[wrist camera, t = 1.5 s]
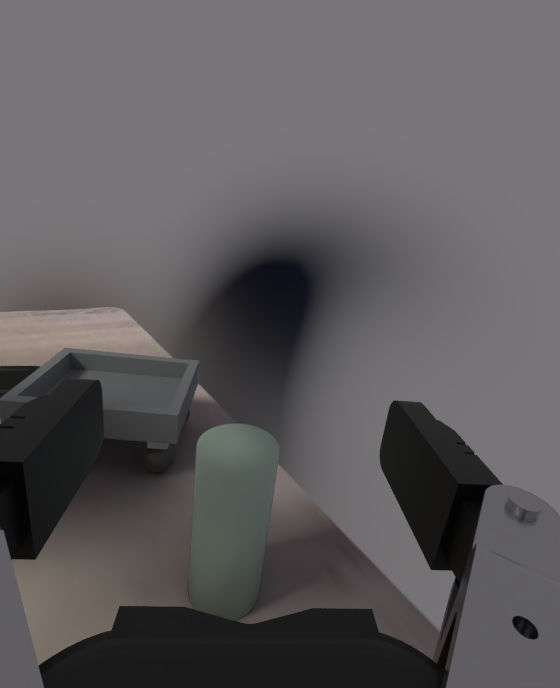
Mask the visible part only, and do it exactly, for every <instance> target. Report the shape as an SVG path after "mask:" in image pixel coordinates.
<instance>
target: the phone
mask: <svg viewBox="0 0 560 688" xmlns="http://www.w3.org/2000/svg"><path fill="white" fill-rule="evenodd" d="M39 368H40V366H0V398H1V397H2V396H4V395H5V394H6V393H8V392H9V391H10V390H11V389H13V388H14V387H15V386H17V385H18V384H19V383H20V382H22V381H23V380H24V379H26V378H27V377H28V376H30V375H31V374H32V373H33V372H35V371H36V370H37V369H39Z"/></svg>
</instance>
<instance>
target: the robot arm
mask: <svg viewBox="0 0 560 688" xmlns="http://www.w3.org/2000/svg"><path fill="white" fill-rule="evenodd" d="M103 439H104V420H103V399H102V386H101V383H100V381H99V380H92V379H77V378H67V379H66V380H64V381H63V382H62V383H61V384H60V385H59V386H58V387H57V388H56V389H55V390H54V391H53V392H52V393H51V394H50V395H42V396H40V397H38V398H36V399H33V400H31V401H29V402H27V403H25V404H23V405H22V406H21V407H20V408H19V409H17V410H16V411H15V412H14V413H13V414H12V415H11V416H10V418H7V419H6V420H5V421H4V422H3V423H1V424H0V688H560V516H559V514H558V513H557V512H556V511H555V510H554V509H553V508H552V507H551V506H550V505H549V504H548V503H546V502H545V501H543V500H542V499H540V498H539V497H537V496H535V495H534V494H532V493H530V492H527V491H525V490H523V489H520V488H517V487H513V486H508V485H503V484H502V483H501V482H500V481H499V480H498V479H497V477H496V476H495V475H494V474H493V473H492V472H491V471H490V470H489V468H488V467H487V466H486V465H485V464H484V463H483V462H482V461H481V460H480V458H479V457H478V456H477V455H474V452H473V451H472V450H471V448H470V447H469V446H468V445H465V442H464V441H463V440H462V439H461V437H460V436H459V435H458V434H457V433H456V432H455V431H454V430H453V429H451V428H450V427H448V426H447V425H445V424H443V423H442V422H441V421H439V420H436V419H435V418H434V416H433V415H432V414H431V413H430V412H429V411H428V409H427V408H426V407H425V406H424V405H423V404H422V403H421V402H409V401H393V402H392V403H391V405H390V408H389V412H388V417H387V421H386V426H385V430H384V434H383V438H382V443H381V447H380V464H381V468H382V470H383V473H384V475H385V477H386V478H387V481H388V483H389V485H390V487H391V489H392V491H393V493H394V495H395V497H396V499H397V501H398V503H399V505H400V507H401V509H402V511H403V513H404V515H405V517H406V520H407V522H408V523H409V526H410V528H411V530H412V532H413V534H414V536H415V538H416V540H417V542H418V544H419V546H420V548H421V550H422V552H423V554H424V556H425V558H426V560H427V562H428V564H429V566H430V568H431V570H452V571H453V573H454V575H455V576H456V577H455V581H454V583H453V586H452V589H451V593H450V597H449V600H448V604H447V608H446V612H445V616H444V620H443V623H442V627H441V631H440V635H439V639H438V642H437V646H436V650H435V654H434V658H433V660H432V659H430V658H429V657H427V656H426V655H424V654H423V653H421V652H420V651H418V650H417V649H415V648H413V647H412V646H410V645H408V644H406V643H404V642H402V641H400V640H398V639H396V638H393V637H391V636H388V635H386V634H383V633H379V631H378V628H377V625H376V621H375V618H374V615H373V611H372V609H322V608H313V609H309V610H305V611H301V612H297V613H294V614H290V615H286V616H282V617H279V618H275V619H271V620H267V621H263V622H260V623H256V624H244V623H240V622H237V621H233V620H230V619H226V618H222V617H219V616H215V615H212V614H208V613H205V612H201V611H197V610H194V609H190V608H187V607H148V606H120V607H119V610H118V613H117V616H116V619H115V622H114V625H113V628H112V630H111V631H107V632H103V633H100V634H97V635H95V636H92V637H89V638H87V639H84V640H82V641H80V642H78V643H76V644H74V645H71V646H69V647H67V648H65V649H64V650H62V651H60V652H59V653H57V654H55V655H54V656H52V657H50V658H49V659H47V660H46V661H44V662H43V663H42V664H40V665H39V666H38V662H37V659H36V655H35V651H34V647H33V643H32V639H31V635H30V631H29V627H28V624H27V620H26V616H25V612H24V608H23V604H22V600H21V596H20V592H19V589H18V585H17V581H16V577H15V573H14V569H13V565H12V561H11V560H12V559H33V560H35V559H36V558H37V556H38V554H39V553H40V551H41V549H42V548H43V546H44V544H45V543H46V541H47V540H48V538H49V536H50V535H51V533H52V531H53V530H54V528H55V526H56V525H57V523H58V521H59V520H60V518H61V517H62V515H63V513H64V512H65V510H66V508H67V507H68V505H69V503H70V502H71V500H72V498H73V497H74V495H75V494H76V492H77V490H78V489H79V487H80V485H81V484H82V482H83V480H84V479H85V477H86V475H87V474H88V472H89V471H90V469H91V467H92V466H93V464H94V462H95V461H96V459H97V457H98V456H99V454H100V451H101V448H102V444H103Z"/></svg>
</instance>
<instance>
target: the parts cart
mask: <svg viewBox="0 0 560 688" xmlns="http://www.w3.org/2000/svg"><path fill="white" fill-rule="evenodd" d="M198 370H199V361H196V360H185V359H175V358H164V357H154V356H144V355H133V354H123V353H112V352H102V351H91V350H81V349H70V348H65V349H63V350H62V351H61V352H59V353H58V354H57V355H55V356H54V357H53V358H52V359H50V360H49V361H48V362H46V363H45V364H44V365H42V366H41V367H40V368H39V369H37V370H36V371H35V372H33V373H32V374H31V375H30V376H28V377H27V378H26V379H24V380H23V381H22V382H20V383H19V384H18V385H17V386H15V387H14V388H13V389H11V390H10V391H9V392H8V393H6V394H5V395H4V396H2V397H1V398H0V420H1V423H3V422H4V421H5V420H6V419H7V418H10V416H11V415H12V414H13V413H14V412H15V411H16V410H17V409H19V408H20V407H21V406H22V405H23V404H25V403H27V402H29V401H31V400H33V399H36V398H38V397H40V396H42V395H50V394H51V393H52V392H53V391H54V390H55V389H56V388H57V387H58V386H59V385H60V384H61V383H62V382H63V381H64V380H66V379H67V378H77V379H92V380H99V381H100V383H101V386H102V399H103V420H104V438H105V439H118V440H131V441H143V442H147V447H146V449H145V451H144V454H143V461H144V464H145V466H146V467H147V468H148V469H149V470H151V471H153V472H163V471H166V470H167V469H169V468H170V467H171V466H172V464H173V463H174V460H175V450H174V448H173V446H172V445H171V444H177V442H178V440H179V437H180V434H181V431H182V428H183V425H184V423H185V422H186V421H187V420H188V418H189V415H190V410H189V408H190V405H191V402H192V399H193V396H194V393H195V390H196V388H197V385H198Z"/></svg>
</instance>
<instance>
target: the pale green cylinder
mask: <svg viewBox="0 0 560 688" xmlns="http://www.w3.org/2000/svg"><path fill="white" fill-rule="evenodd" d="M279 452H280V449H279V445H278V442H277V441H276V439H275V438H274V437H273V436H272V435H271V434H269V433H268V432H266V431H265V430H263V429H261V428H258V427H255V426H252V425H247V424H238V423H231V424H223V425H219V426H216V427H213V428H211V429H209V430H207V431H206V432H204V433H203V434H202V435H201V436H200V438H199V439H198V442H197V446H196V463H195V480H194V498H193V516H192V533H191V551H190V568H189V586H188V595H189V600H190V603H191V605H192V607H193V608H194V610H197V611H201V612H205V613H208V614H212V615H215V616H219V617H222V618H226V619H230V620H233V621H236V620H238V619H240V618H242V617H244V616H245V615H246V614H247V613H249V612H250V610H251V609H252V608H253V607H254V605H255V603H256V601H257V598H258V595H259V588H260V582H261V575H262V568H263V561H264V554H265V548H266V541H267V534H268V527H269V520H270V514H271V507H272V500H273V493H274V487H275V480H276V473H277V466H278V459H279Z"/></svg>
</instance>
